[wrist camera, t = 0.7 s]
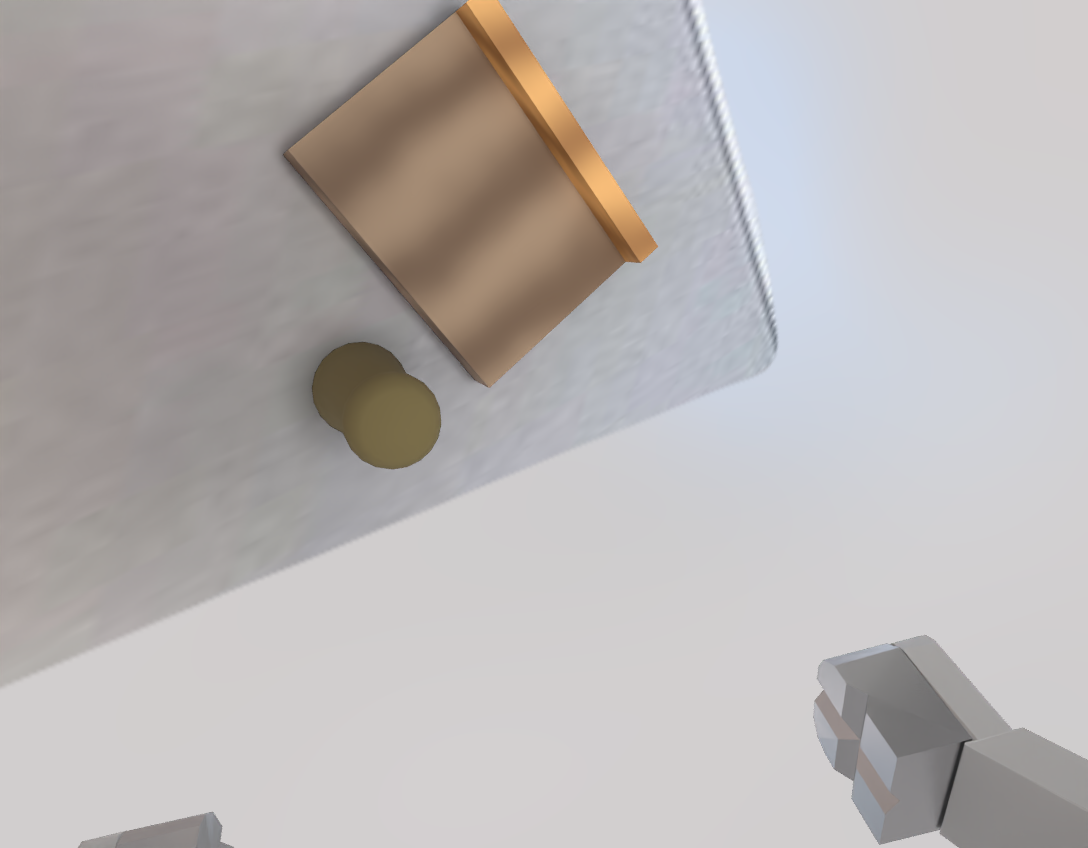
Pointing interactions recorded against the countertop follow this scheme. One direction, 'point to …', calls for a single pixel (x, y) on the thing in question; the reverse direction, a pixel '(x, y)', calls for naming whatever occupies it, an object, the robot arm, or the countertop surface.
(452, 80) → the dock
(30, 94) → the countertop surface
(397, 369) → the cork
